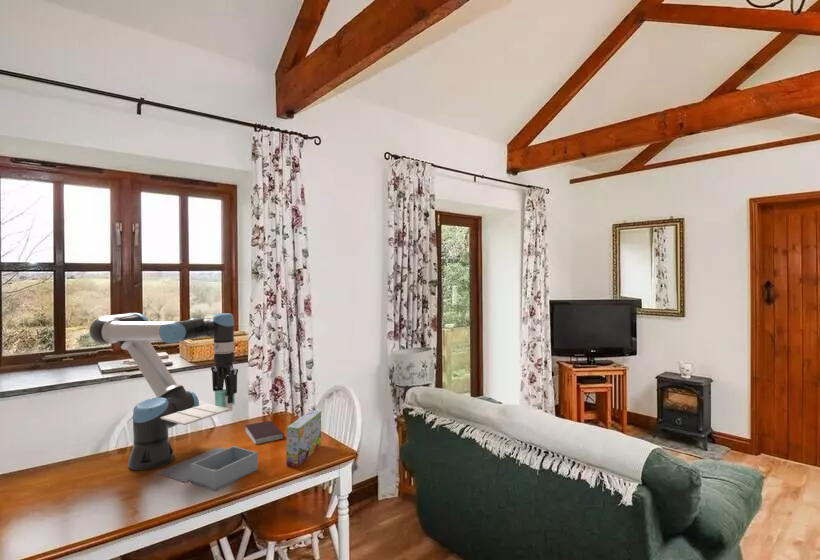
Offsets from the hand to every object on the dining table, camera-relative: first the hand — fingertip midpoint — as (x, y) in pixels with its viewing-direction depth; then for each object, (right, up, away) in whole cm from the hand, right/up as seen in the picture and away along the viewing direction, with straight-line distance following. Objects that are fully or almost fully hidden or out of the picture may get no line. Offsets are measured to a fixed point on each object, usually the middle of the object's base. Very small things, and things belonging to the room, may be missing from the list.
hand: (225, 410), depth 176 cm
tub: (+8, -18, -18) cm, 27 cm away
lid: (-5, +2, -8) cm, 10 cm away
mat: (-5, -18, -8) cm, 21 cm away
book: (+8, -18, +21) cm, 30 cm away
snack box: (+32, -18, -1) cm, 37 cm away
